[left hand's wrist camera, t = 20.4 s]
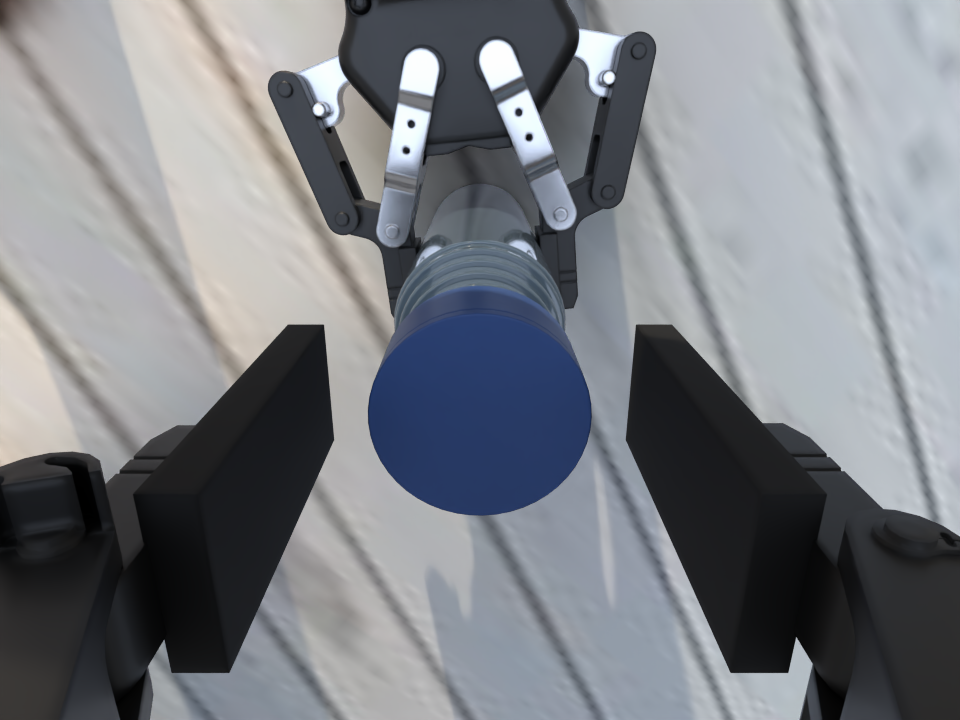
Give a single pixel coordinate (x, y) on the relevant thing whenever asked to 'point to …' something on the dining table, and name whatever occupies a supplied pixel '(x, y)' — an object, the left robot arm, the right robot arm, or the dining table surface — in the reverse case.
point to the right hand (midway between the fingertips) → (487, 323)
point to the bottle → (479, 252)
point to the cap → (479, 402)
